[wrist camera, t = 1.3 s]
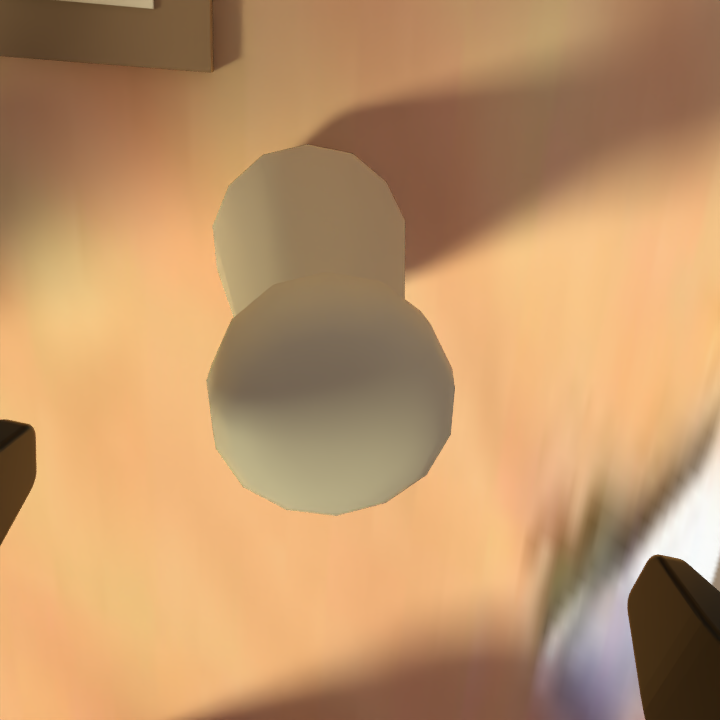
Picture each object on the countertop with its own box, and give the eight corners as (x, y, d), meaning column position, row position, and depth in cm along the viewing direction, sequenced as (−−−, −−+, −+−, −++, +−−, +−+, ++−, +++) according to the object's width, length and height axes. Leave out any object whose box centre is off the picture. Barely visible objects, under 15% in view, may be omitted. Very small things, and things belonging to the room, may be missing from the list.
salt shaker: (319, 93, 20) (373, 175, 9) (426, 233, 23) (580, 442, 11) (182, 214, 21) (69, 427, 10) (297, 335, 24) (314, 620, 12)
